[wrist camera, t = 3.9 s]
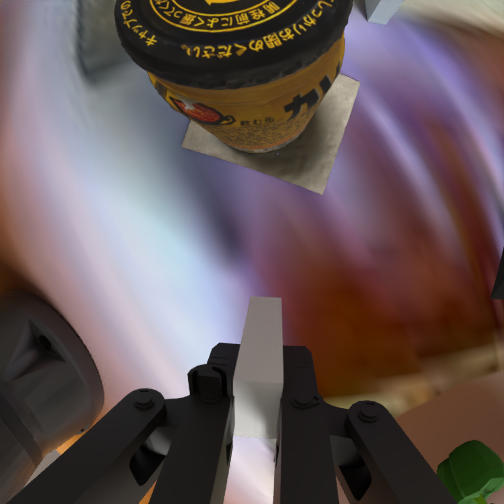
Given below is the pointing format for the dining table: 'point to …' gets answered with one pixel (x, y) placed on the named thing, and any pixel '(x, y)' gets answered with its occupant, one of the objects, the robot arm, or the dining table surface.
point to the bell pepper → (472, 473)
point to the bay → (381, 10)
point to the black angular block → (499, 281)
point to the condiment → (249, 78)
